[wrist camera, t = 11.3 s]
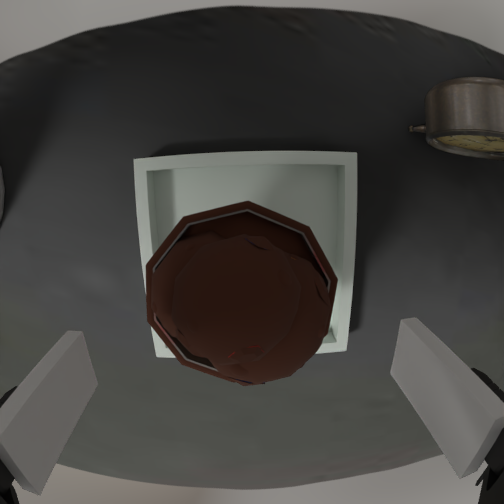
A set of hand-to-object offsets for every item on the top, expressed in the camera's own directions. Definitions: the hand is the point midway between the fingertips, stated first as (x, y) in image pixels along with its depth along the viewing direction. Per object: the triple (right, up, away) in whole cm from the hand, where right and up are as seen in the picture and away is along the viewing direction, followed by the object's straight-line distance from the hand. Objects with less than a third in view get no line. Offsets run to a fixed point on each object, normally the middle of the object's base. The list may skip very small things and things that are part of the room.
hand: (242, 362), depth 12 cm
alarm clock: (+19, +16, +13) cm, 28 cm away
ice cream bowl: (-1, +4, +15) cm, 15 cm away
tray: (0, +4, +15) cm, 16 cm away
